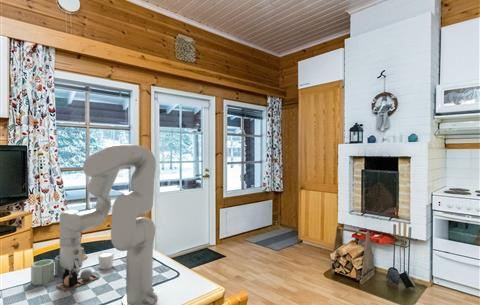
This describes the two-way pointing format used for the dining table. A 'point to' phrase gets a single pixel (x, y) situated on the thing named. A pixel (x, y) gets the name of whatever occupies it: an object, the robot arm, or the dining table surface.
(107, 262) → the white cylinder
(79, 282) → the holder
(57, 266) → the grey ribbed bin
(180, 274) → the dining table surface
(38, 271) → the green ribbed pot
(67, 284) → the terracotta ball
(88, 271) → the grey ball
